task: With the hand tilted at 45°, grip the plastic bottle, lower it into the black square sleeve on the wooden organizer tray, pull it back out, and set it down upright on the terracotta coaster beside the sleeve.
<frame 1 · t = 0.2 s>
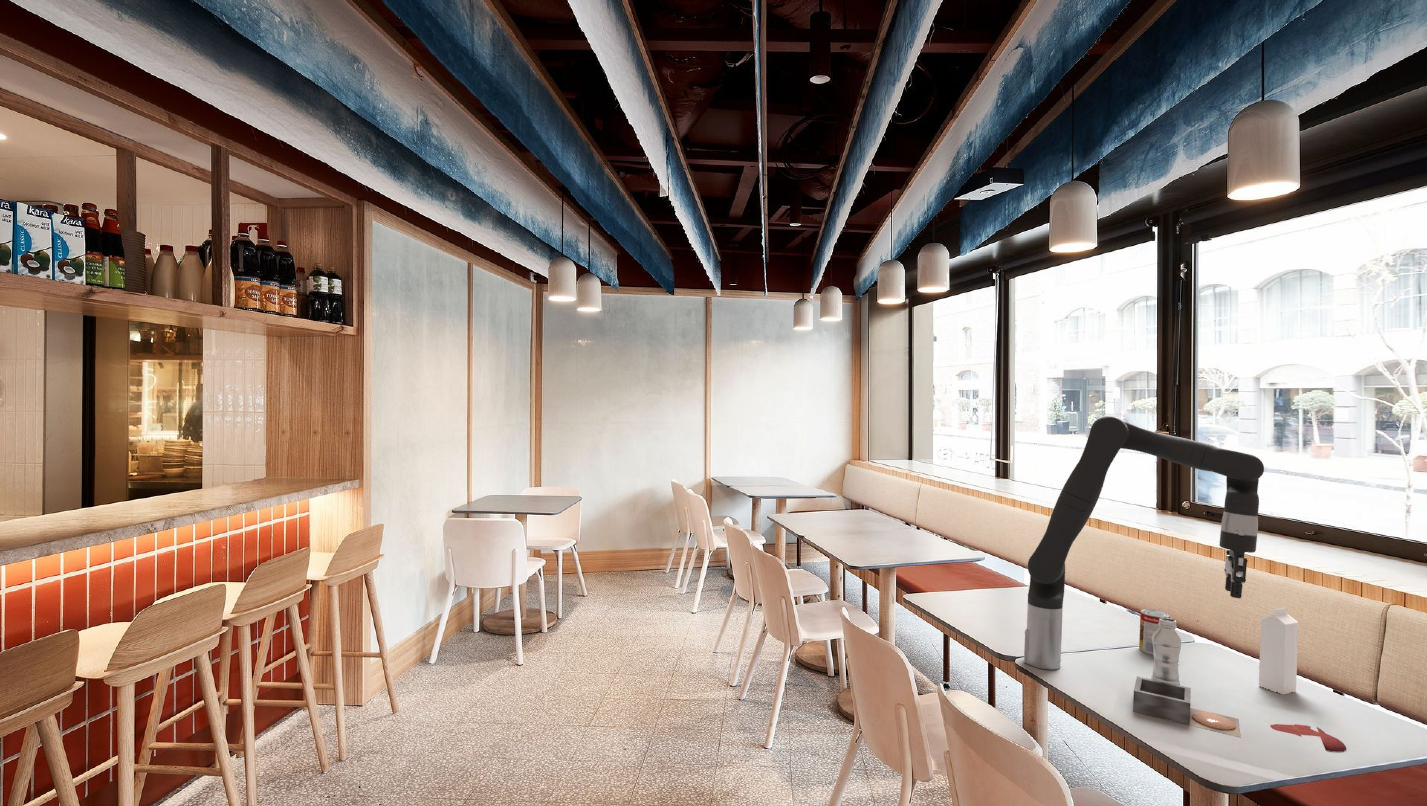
hand: (1232, 594, 181), 28 cm above the table, tool pointing down, fingers open, 8 cm apart
wooden organizer tray: (1185, 721, 170), on the table
canned food: (1153, 652, 219), on the table
milk: (1277, 689, 192), on the table
plastic bottle: (1164, 696, 184), on the table
red flat piece: (1295, 739, 163), on the table
terracotta coaster: (1213, 721, 166), resting on wooden organizer tray
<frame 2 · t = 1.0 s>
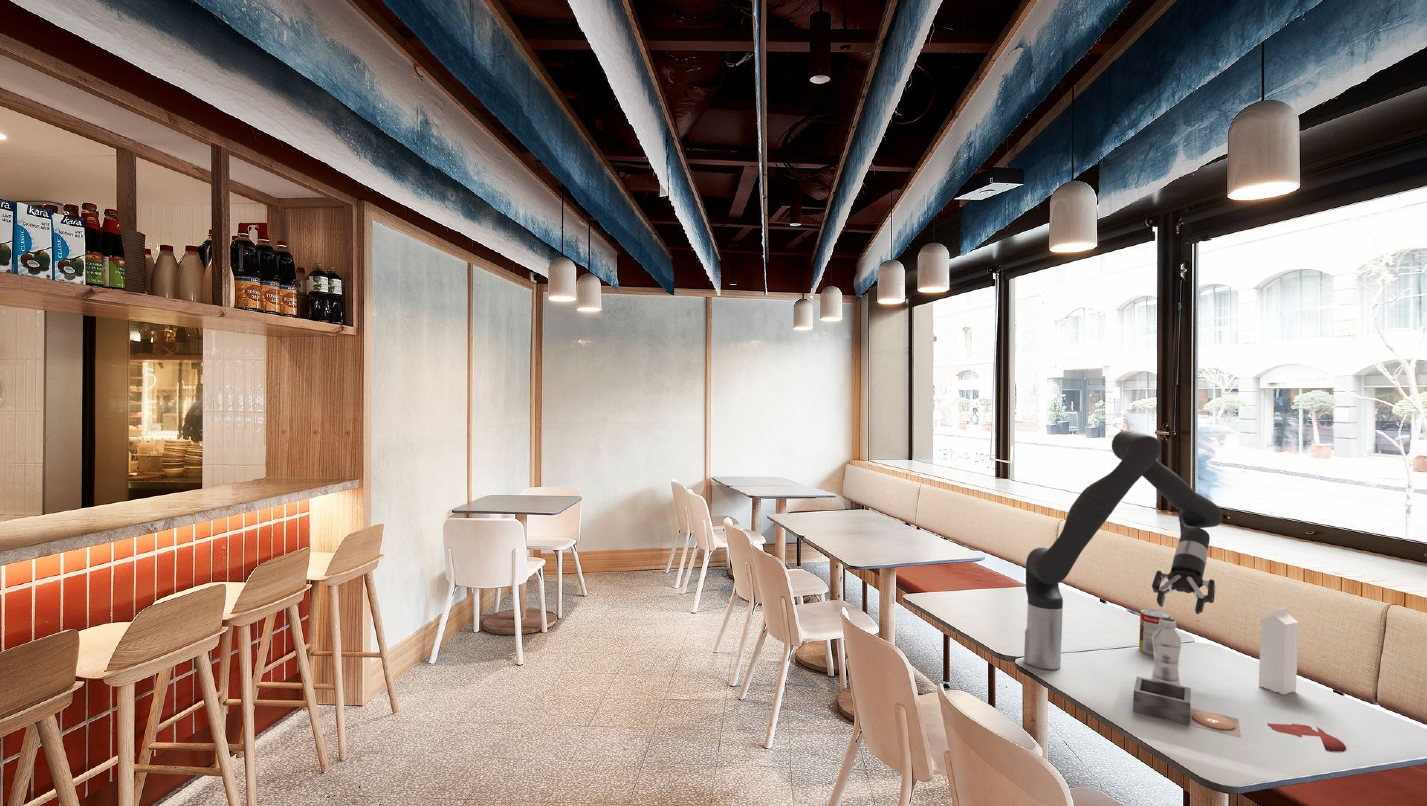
hand: (1178, 608, 192), 21 cm above the table, tool tilted 45°, fingers open, 8 cm apart
nothing on the table moved.
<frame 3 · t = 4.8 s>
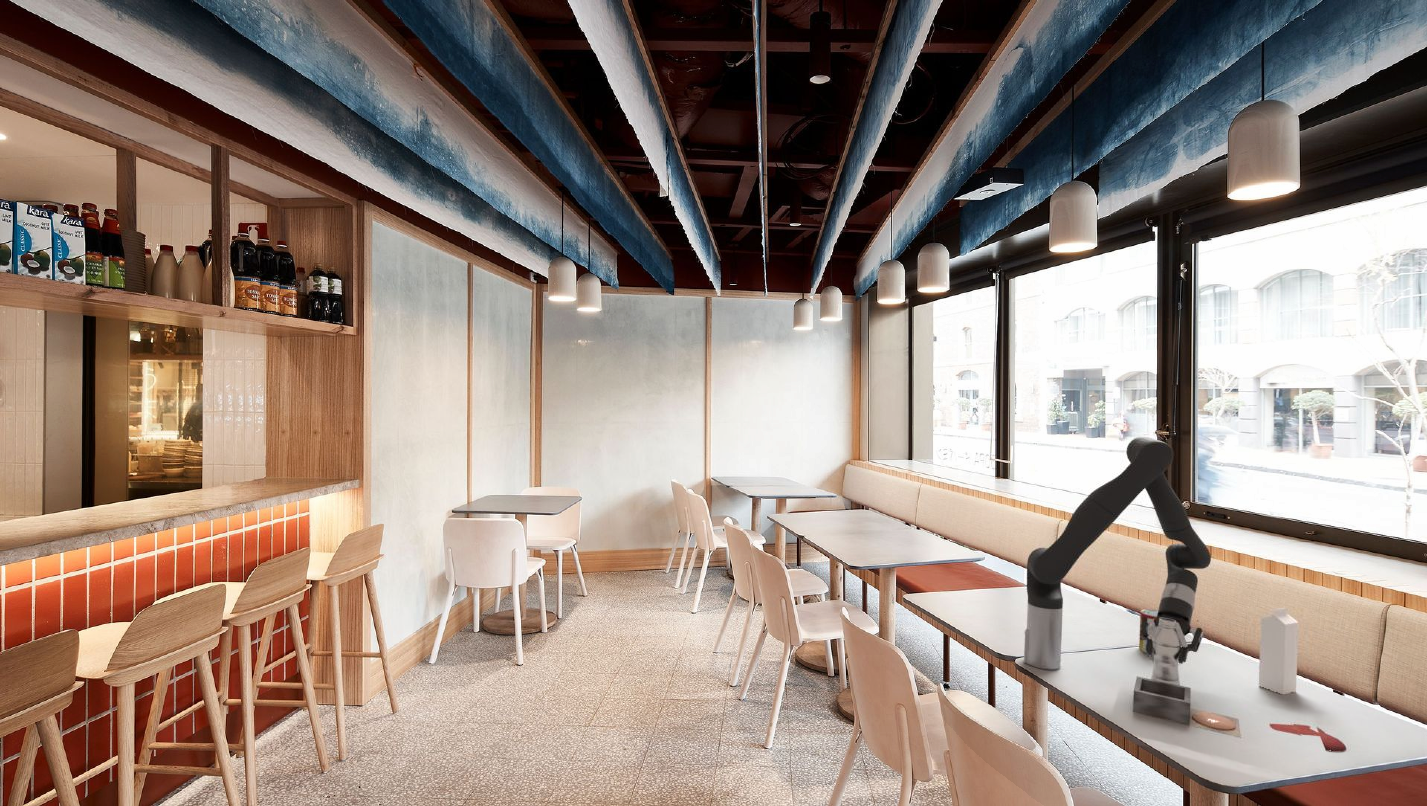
hand: (1164, 658, 183), 10 cm above the table, tool tilted 45°, fingers closed on plastic bottle, 6 cm apart
plastic bottle: (1164, 696, 184), on the table, touching gripper
everything else where it was.
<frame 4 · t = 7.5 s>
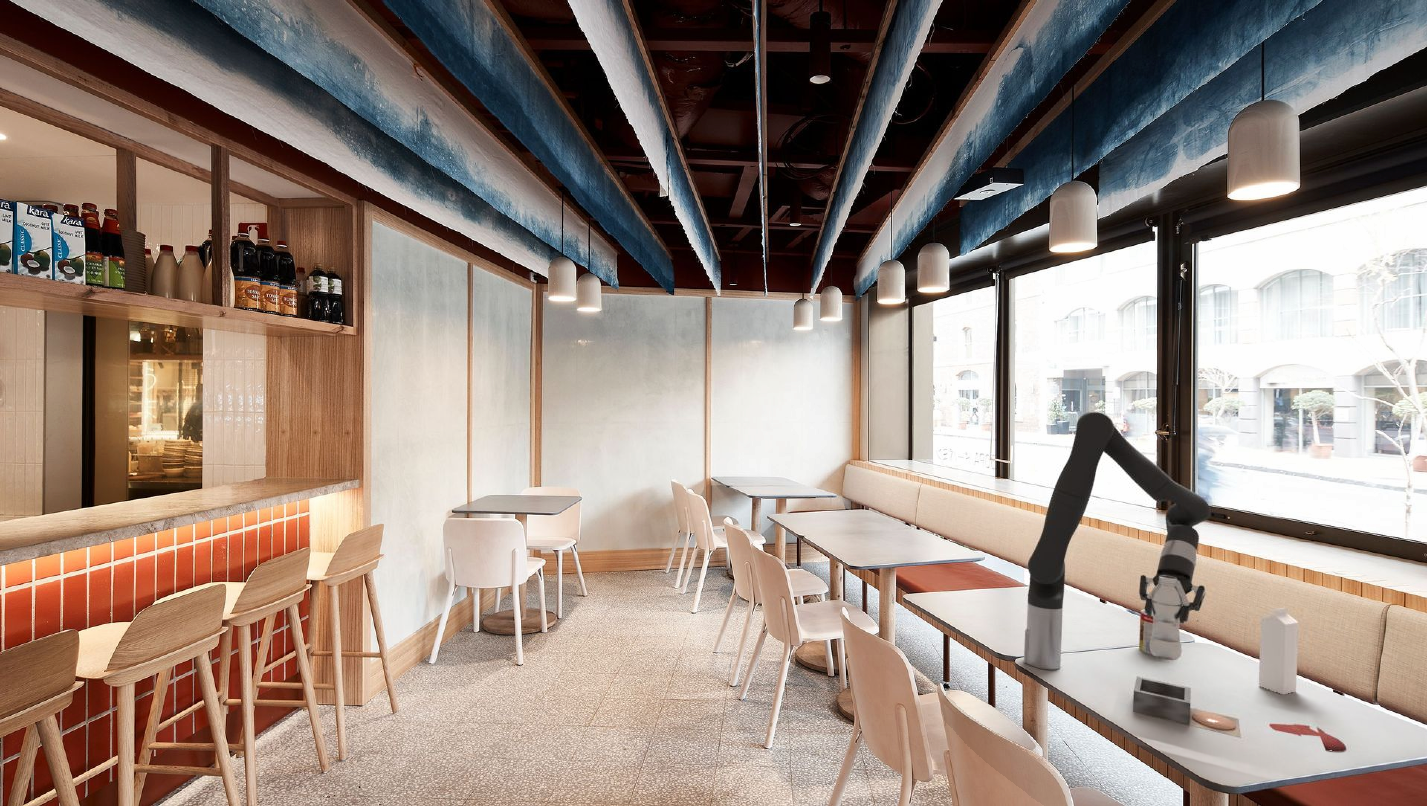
hand: (1165, 617, 172), 24 cm above the table, tool tilted 45°, fingers closed on plastic bottle, 6 cm apart
plastic bottle: (1164, 659, 173), point 13 cm above the table, touching gripper
everything else where it was.
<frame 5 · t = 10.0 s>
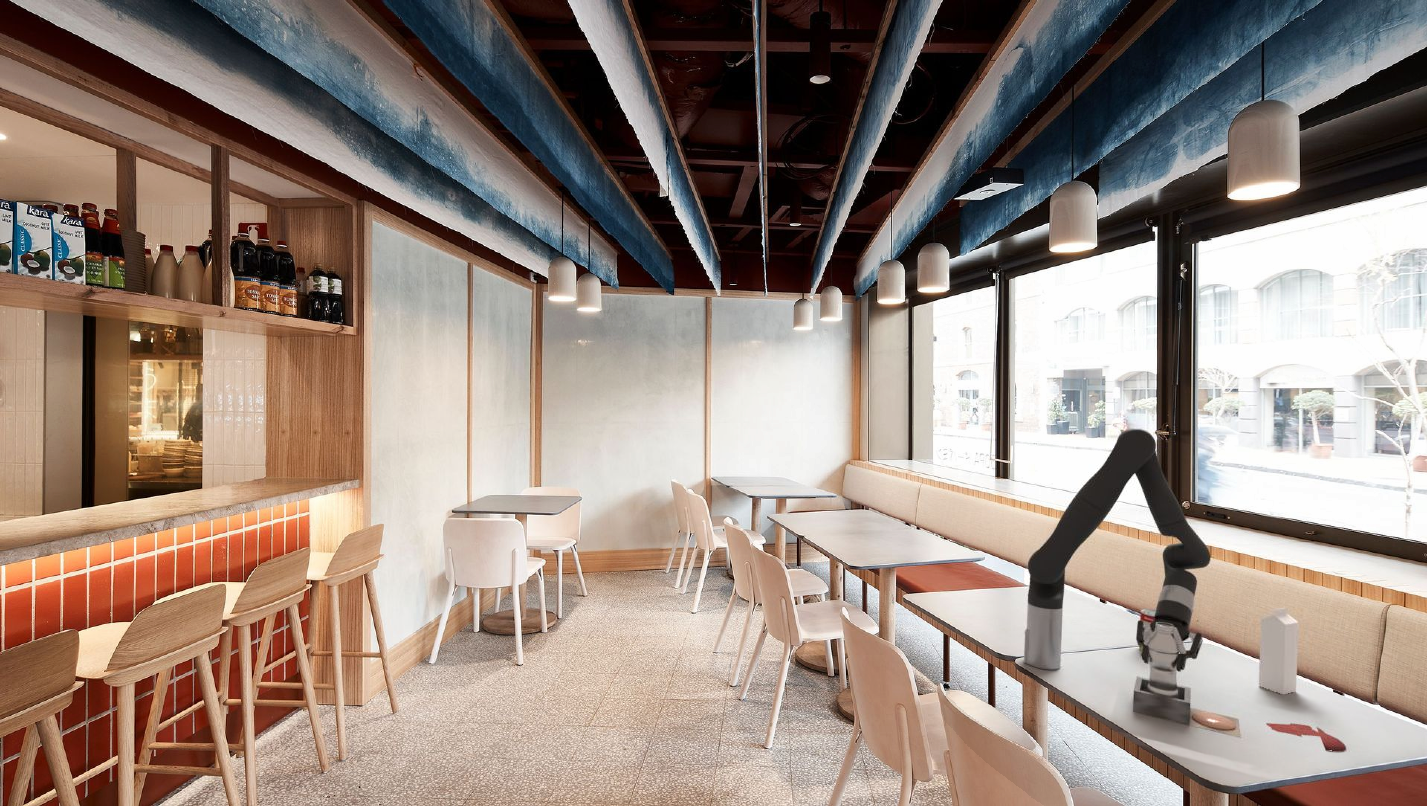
hand: (1161, 665, 171), 13 cm above the table, tool tilted 45°, fingers closed on plastic bottle, 6 cm apart
plastic bottle: (1162, 707, 172), point 2 cm above the table, touching gripper
everything else where it was.
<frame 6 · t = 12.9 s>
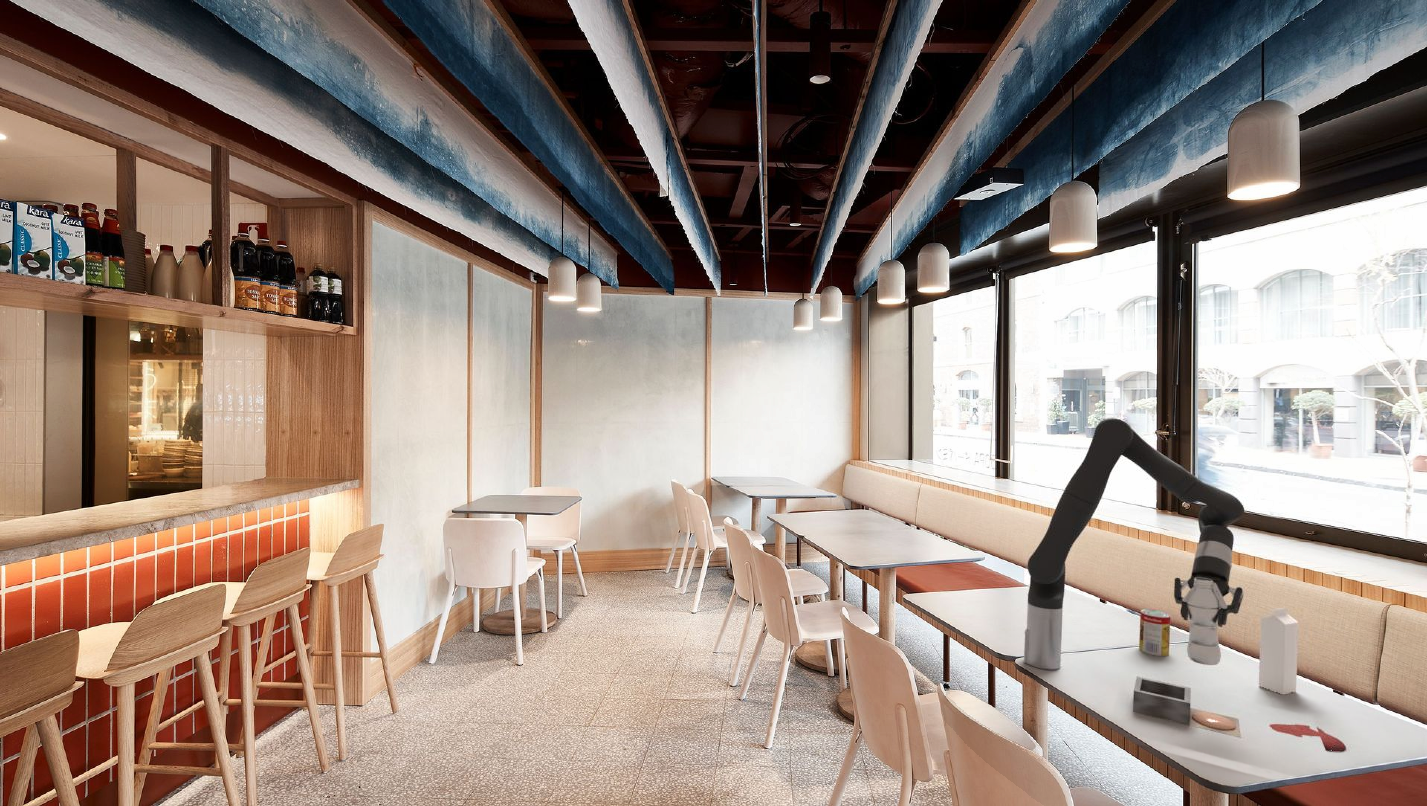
hand: (1202, 621, 167), 25 cm above the table, tool tilted 45°, fingers closed on plastic bottle, 6 cm apart
plastic bottle: (1203, 664, 168), point 14 cm above the table, touching gripper
everything else where it was.
when the fingers open (14 cm above the table, at t = 15.7 s): plastic bottle drops 1 cm, resting on terracotta coaster.
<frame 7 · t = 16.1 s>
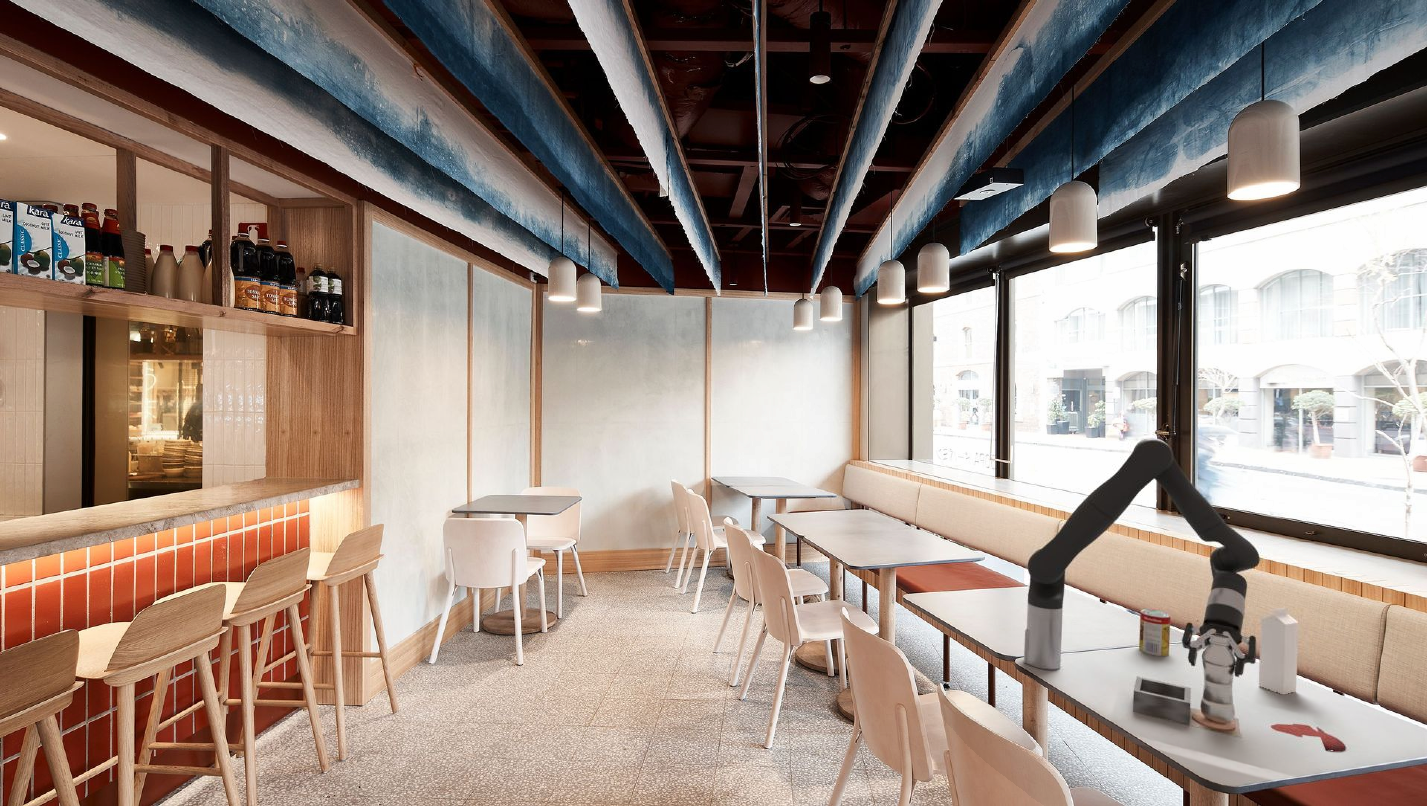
hand: (1214, 669, 165), 14 cm above the table, tool tilted 45°, fingers open, 8 cm apart
plastic bottle: (1216, 721, 166), point 2 cm above the table, touching terracotta coaster
everything else where it was.
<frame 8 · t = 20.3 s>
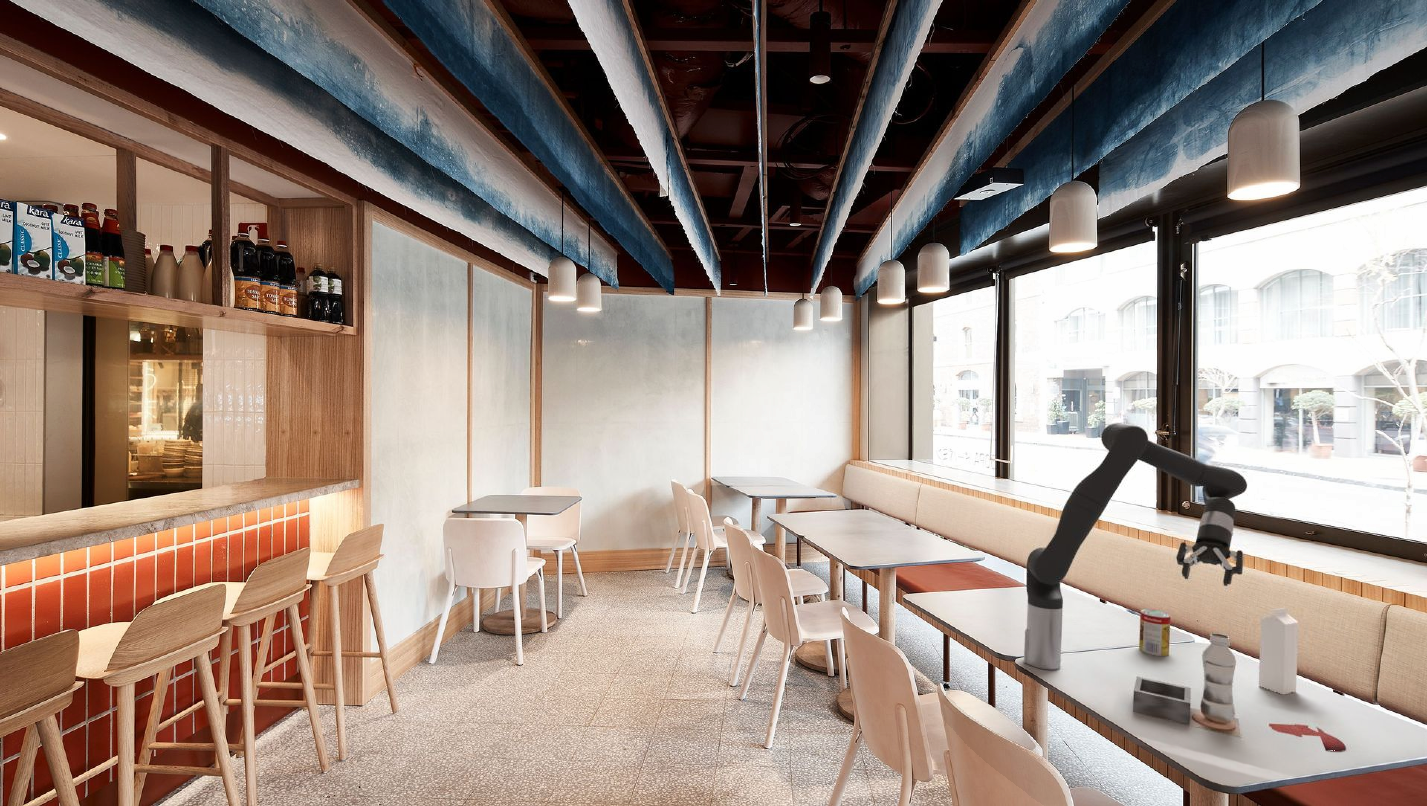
hand: (1205, 580, 184), 31 cm above the table, tool tilted 45°, fingers open, 8 cm apart
nothing on the table moved.
at the end: plastic bottle inside the target area (0.7 cm from its centre), point 1.7 cm above the table; plastic bottle tilted 0°; the gripper is holding nothing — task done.
